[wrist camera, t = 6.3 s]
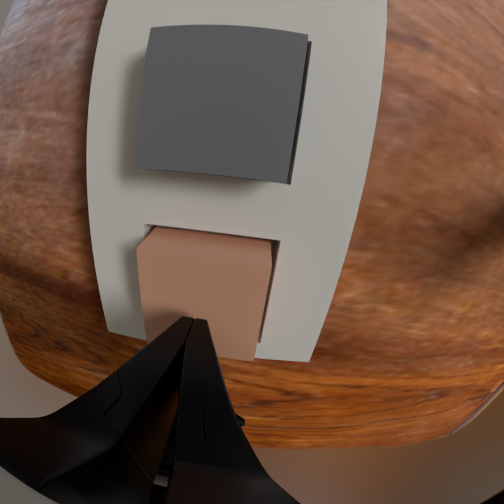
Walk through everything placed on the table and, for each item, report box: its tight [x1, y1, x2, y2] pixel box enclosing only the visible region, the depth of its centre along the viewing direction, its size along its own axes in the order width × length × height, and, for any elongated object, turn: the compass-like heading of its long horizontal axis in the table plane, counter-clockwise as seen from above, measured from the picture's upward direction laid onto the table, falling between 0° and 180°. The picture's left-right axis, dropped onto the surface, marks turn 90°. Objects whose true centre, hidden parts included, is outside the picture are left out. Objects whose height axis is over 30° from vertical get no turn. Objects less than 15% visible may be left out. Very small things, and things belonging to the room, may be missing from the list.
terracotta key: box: [136, 226, 272, 361], centre depth 10 cm, size 4×4×2 cm
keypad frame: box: [86, 0, 387, 362], centre depth 9 cm, size 21×10×3 cm, turn 173°
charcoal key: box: [135, 25, 308, 184], centre depth 7 cm, size 4×4×2 cm
